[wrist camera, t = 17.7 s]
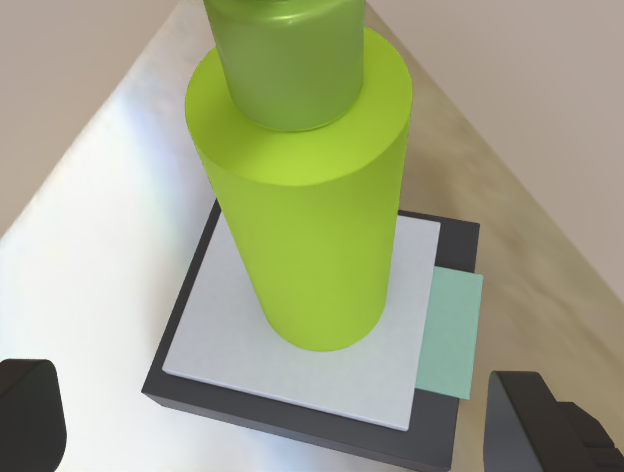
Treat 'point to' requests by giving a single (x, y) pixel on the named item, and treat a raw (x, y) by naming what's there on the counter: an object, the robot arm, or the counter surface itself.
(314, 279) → the soap dispenser
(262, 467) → the counter surface
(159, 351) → the kitchen scale
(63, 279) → the counter surface
